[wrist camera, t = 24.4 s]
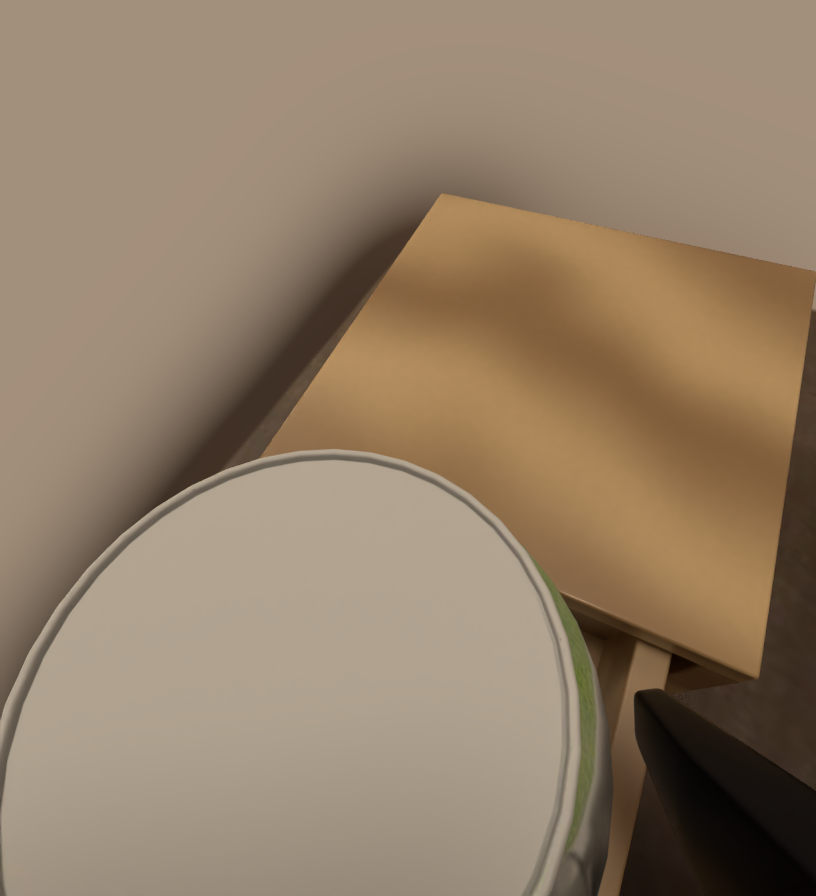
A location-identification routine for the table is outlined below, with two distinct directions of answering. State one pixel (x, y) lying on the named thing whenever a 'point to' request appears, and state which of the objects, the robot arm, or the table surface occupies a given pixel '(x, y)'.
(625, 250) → the cabinet
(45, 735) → the beverage can
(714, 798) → the robot arm
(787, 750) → the table surface
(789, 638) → the table surface
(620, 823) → the drawer
